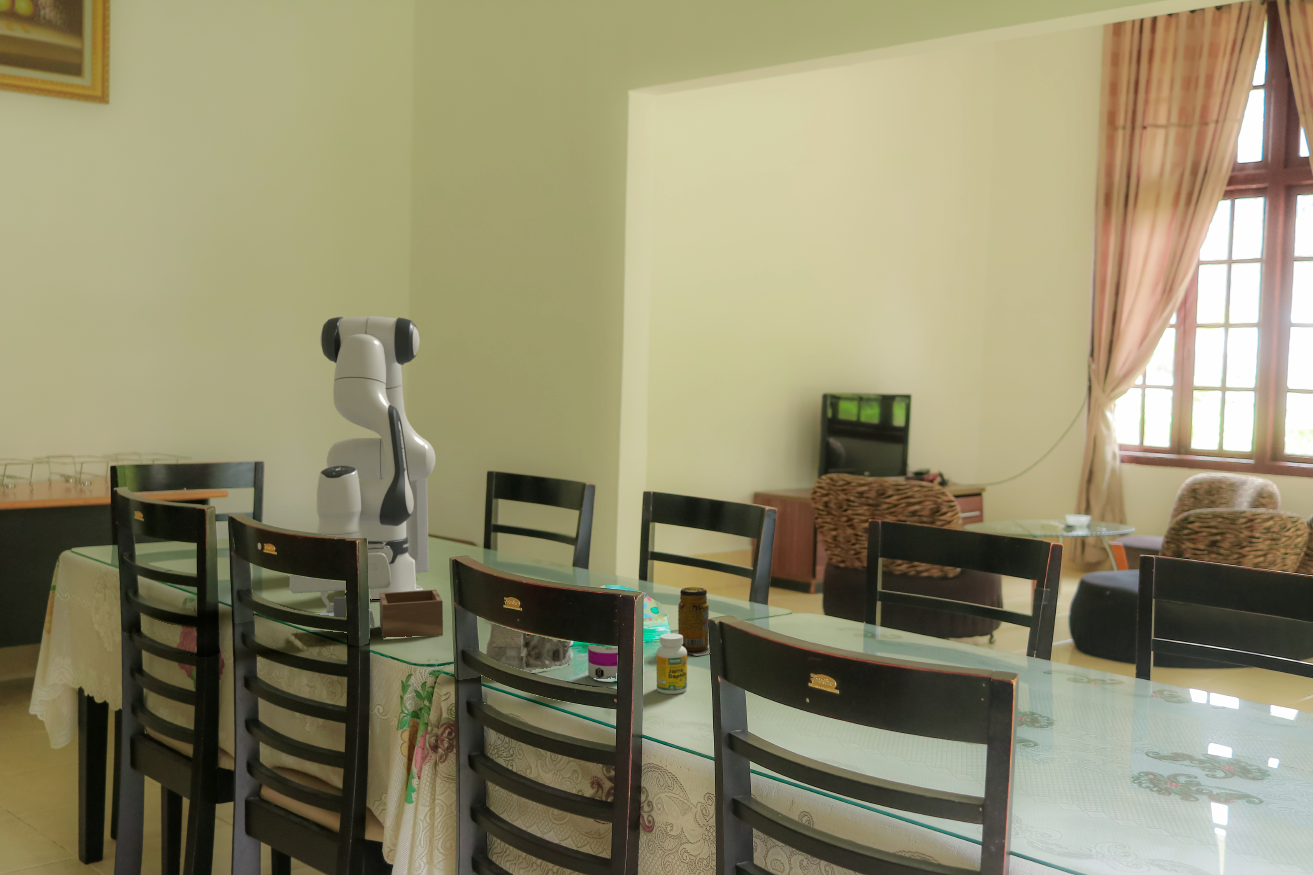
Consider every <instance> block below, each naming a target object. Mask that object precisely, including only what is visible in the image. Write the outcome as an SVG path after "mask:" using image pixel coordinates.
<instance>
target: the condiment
mask: <svg viewBox="0 0 1313 875" xmlns="http://www.w3.org/2000/svg"><path fill="white" fill-rule="evenodd" d="M679 593H680V597H679V599H680V601H679V602H678V606H677V608H678V610H677V611H678V612H677V614H678V618H677V624H678V631H677V632H678V633H677V634H680V635H682V636H683V644H682V646H683V647H684V648H685V649H686V651H687V655H688V654H689V655H693V656H704V655H709V646H710V645H709V643H710V642H709V638H708V636H709V635H708V634H709V629H708V623H709V622H708V621H710V619H709V617H710V616H709V615H710V613H709V610H710V609H709V608H710V606H709V602H707V599H708V597H707V596H708V595H707V594H708V591H707V589H706V588H704V587H703V588H702V587H697V586H695V587H694V586H691V587H690V586H689V587H688V586H687V587H684V588H681V590H680V592H679Z"/></svg>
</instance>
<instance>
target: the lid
mask: <svg viewBox="0 0 1313 875" xmlns="http://www.w3.org/2000/svg"><path fill="white" fill-rule="evenodd" d="M333 603H334V612H333V613H327V611H326V612H314V613H315V614H320V615H329V616H335V617H344V618H345V617H346V597H345V596H341V597H333ZM369 610H370V625H371V627H370V628H375V627H376V624H375V618H374V614H373V609H369ZM309 632H310V633H311V632H312V633H313V632H321V631H320V630H310V629H309Z"/></svg>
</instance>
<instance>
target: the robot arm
mask: <svg viewBox="0 0 1313 875" xmlns="http://www.w3.org/2000/svg"><path fill="white" fill-rule="evenodd" d="M419 334H420V332H419V331H418V328H417V325H416V323H414V322H413V320H411V319H409V318H404V317H398V318H395V317H390V316H388V317H387V316H380V315H370V316H351V317H350V316H349V317H348V316H347V317H343V316H337V317H332V318H329V319H328V320H326V322H324V324H323V326H322V328H321V332H320V337H319V339H320V340H319V341H320V347H321V349H322V354H323V356H325V357H326V359H328V360H329V361H330V362H332V363H334V364H335V368H334V370H335V371H334V378H333V388H332V389H333V391H332V392H333V396H332V397H333V405H334V407H335V409H336V410H337V413H339V414H340V416H342V417H343V419H346V420H347V421H348V422H350V423H352V424H354V425H357V426H359V427H362V428H363V429H364V428H365V429H367V430H369V431H372V432H374V433H376V434H378V436H380V437H357V438H356V437H354V438H348V439H344V440H340V441H339V440H338V441H335V442H334V443H333V444H332V445H331V447H330V448H329V451H328V453H327V456H326V465H327V467H326V468H324V469H322V470H321V471H320V473H319V475H318V481H317V488H316V489H317V490H316V514H317V516H318V527H317V528H316V529H317V531H316V532H317V534H321V535H327V536H336V537H345V538H367V539H368V585H369V589H370V595H371V600H370V601H373V600H372V598H373V599H380V597H379V593H390V592H405V591H421V590H424V588H423V587H422V586H420V585H418V584H417V582H416V581H417V580H416V573H415V561H414V560H413V558H411V557H410V556H409V554H408V551H409V550H408V546H409V542H408V537H406V520H407V519H408V518H409V517H410V516H411V515H412V513H413V507H414V499H413V494H412V490H411V485H410V481H415V480H420V479H424V478H427V479H428V477H430V475H431V474H432V473H433V471H434V469H435V466H436V459H437V458H436V452H435V449H434V447H433V446H432V445H431V443H430V442H429V441H428V440H427V439H425V438H424V437H423V436H421V435H420V434H419V433H417V431H415V429H414V428H413V427H412V425H411V424H410V422H409V420H408V417H407V414H406V410H405V409H406V408H405V402H404V389H403V388H404V387H403V373H402V372H403V371H402V366H403V365H405V364H407V363H410V362H411V361H413V360H414V359H415V358H416V356H417V353H418V351H419V349H420V343H421V341H420V340H421V339H420V335H419ZM317 534H316V535H317ZM289 591H290V592H291V593H292V594H307V593H320V598H321V600H322V601H323V603H324V605H325V606H326V612H327V613H333V612H334V602H330V601H329V599H328V596H329V594H328V593H329V592H339V591H347V590H346V583H345V582H339V581H331V580H321V579H315V578H306V577H301V576H295V575H290V574H289Z"/></svg>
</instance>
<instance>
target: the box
mask: <svg viewBox="0 0 1313 875" xmlns="http://www.w3.org/2000/svg"><path fill="white" fill-rule="evenodd" d="M379 597H380V600H379V626H381V628H380V632H381V631H382V632H381V635H382V634H383V637H382V639H383V638H386V637H405V636H406V637H412V636H430V637H438V636H437V635H443V636H444V618H443V617H444V613H443V612H444V611H443V605H444V604H443V599H442V597H441V595H440V594H439V592H438V590H437V589H423V590H421V591H405V592H390V593H379ZM435 635H436V636H435Z"/></svg>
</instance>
